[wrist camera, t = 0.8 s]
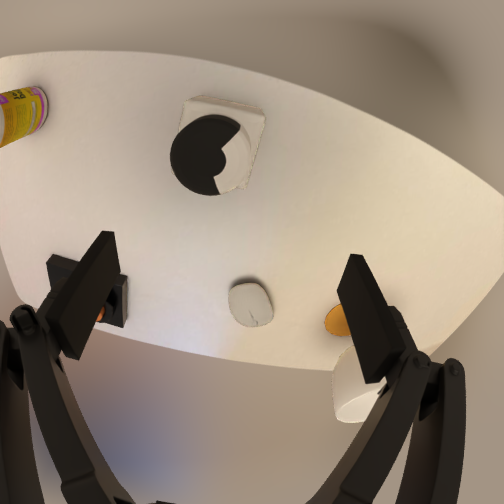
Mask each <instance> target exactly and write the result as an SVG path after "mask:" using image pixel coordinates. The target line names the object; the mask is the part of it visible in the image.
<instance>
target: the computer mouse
mask: <svg viewBox="0 0 504 504" xmlns="http://www.w3.org/2000/svg"><path fill="white" fill-rule="evenodd" d="M229 307H230V310H231V313H232V315H233V317H234V319H235V320H236V321H237V322H238V323H240V324H241V325H243V326H246V327H258V326H263V325H266V324H268V323H270V322H271V321H272V320H273V317H274V316H273V311H272V307H271V304H270V301H269V298H268V296H267V294H266V292H265V291H264V289H263V288H262V287H261V286H260V285H258V284H256V283H244V284H239V285H237V286H234V287H233V288H232V289H231V290H230V292H229Z"/></svg>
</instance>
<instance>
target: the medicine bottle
mask: <svg viewBox="0 0 504 504" xmlns="http://www.w3.org/2000/svg"><path fill="white" fill-rule="evenodd" d="M265 121H266V117H265V115H264V113H263V111H262V109H260V108H256V107H252V106H248V105H244V104H240V103H235V102H231V101H226V100H221V99H216V98H211V97H206V96H197V97H194V98H191V99H188V100H186V101H185V103H184V107H183V112H182V116H181V121H180V126H179V131H178V134H177V136H176V138H175V139H174V141H173V144H172V147H171V152H170V161H171V166H172V173H173V174H174V175H175V176H176V177H177V179H178V180H179V181H180V182H181V184H183V185H184V186H185V187H186V188H188V189H189V190H191V191H193V192H195V193H198V194H202V195H209V196H212V195H221V194H224V193H227V192H229V191H231V190H233V189H234V188H239V189H245V188H246V187H247V184H248V180H249V177H250V173H251V170H252V166H253V163H254V159H255V156H256V152H257V149H258V145H259V142H260V138H261V135H262V132H263V128H264V125H265Z"/></svg>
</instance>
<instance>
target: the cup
mask: <svg viewBox="0 0 504 504" xmlns="http://www.w3.org/2000/svg"><path fill="white" fill-rule="evenodd" d="M325 326H326V330H327V331H329V332H330V333H331V334H334V335H337V336H349V335H351V333H350V330H349V327H348V324H347V320H346V317H345V314H344V311H343V308H342V305H341V304H339V305H338V306H336V307H335V308H333V309H332V310H331V311H330V313H329V314H328V315H327V317H326V320H325ZM386 383H387V381H386V378H385V376H384V377H383V379H382V380H381V381H380V382H379V383H373V384H365V381H364V378H363V374H362V370H361V367H360V363H359V360H358V356H357V353H356V350H355V346H354V345H353V346H351V347H350V348H348V349H347V350H346V351H345V352H344V353H343V354H342V355H341V356H340V357H339V359H338V361H337V364H336V366H335V368H334V370H333V377H332V390H333V402H334V410H335V415H336V418H337V419H338V420H340V421H343V422H351V423H356V422H363V421H365V420H366V418H367V416H368V415H369V413H370V411H371V409H372V407H373V406H374V404H375V402H376V400H377V398H378V396H379V395H378V394H377V393H378V392H379V391H380V389H381V388H382V387H383V386H384V385H385V384H386Z"/></svg>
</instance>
